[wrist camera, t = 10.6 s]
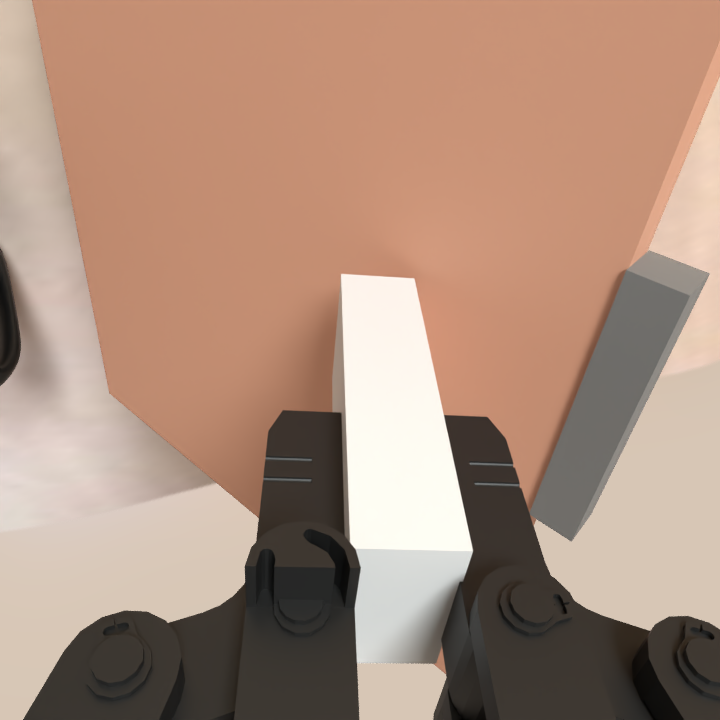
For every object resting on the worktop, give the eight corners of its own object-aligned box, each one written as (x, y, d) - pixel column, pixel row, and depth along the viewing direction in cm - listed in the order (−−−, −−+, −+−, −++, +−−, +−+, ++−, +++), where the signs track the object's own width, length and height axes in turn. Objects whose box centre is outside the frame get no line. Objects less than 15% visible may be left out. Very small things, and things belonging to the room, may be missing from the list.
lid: (128, 384, 28) (107, 394, 27) (0, -368, 14) (-48, -382, 14) (505, 687, 19) (488, 713, 18) (1125, -569, 5) (1144, -643, 5)
